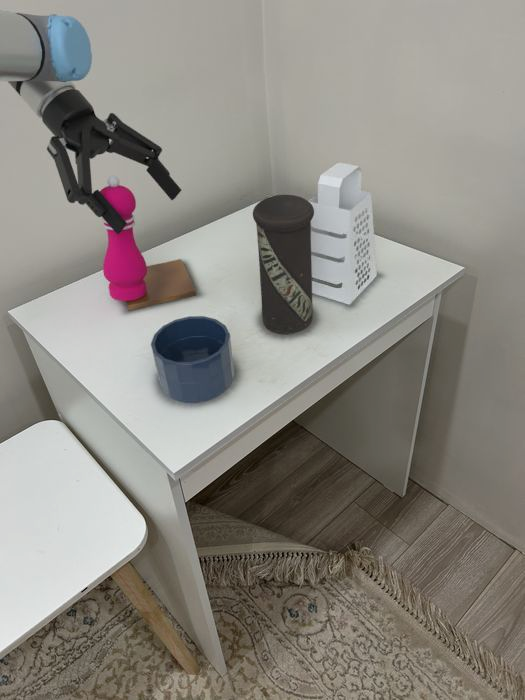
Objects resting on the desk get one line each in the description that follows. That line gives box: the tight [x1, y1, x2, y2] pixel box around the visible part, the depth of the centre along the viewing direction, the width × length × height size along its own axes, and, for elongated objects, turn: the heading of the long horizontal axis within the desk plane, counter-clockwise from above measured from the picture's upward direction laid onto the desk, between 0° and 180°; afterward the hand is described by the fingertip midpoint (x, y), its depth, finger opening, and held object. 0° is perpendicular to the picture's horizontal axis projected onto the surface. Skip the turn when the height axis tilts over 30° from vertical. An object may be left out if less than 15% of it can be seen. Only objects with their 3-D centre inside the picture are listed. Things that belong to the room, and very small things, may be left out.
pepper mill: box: [99, 175, 148, 302], centre depth 89 cm, size 7×7×20 cm
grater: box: [307, 162, 378, 305], centre depth 90 cm, size 10×10×20 cm
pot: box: [150, 315, 235, 404], centre depth 76 cm, size 11×11×7 cm
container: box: [252, 194, 314, 335], centre depth 82 cm, size 9×9×20 cm
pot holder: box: [125, 258, 197, 312], centre depth 98 cm, size 12×12×1 cm
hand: (151, 211), depth 88 cm, fingers open, 13 cm apart
